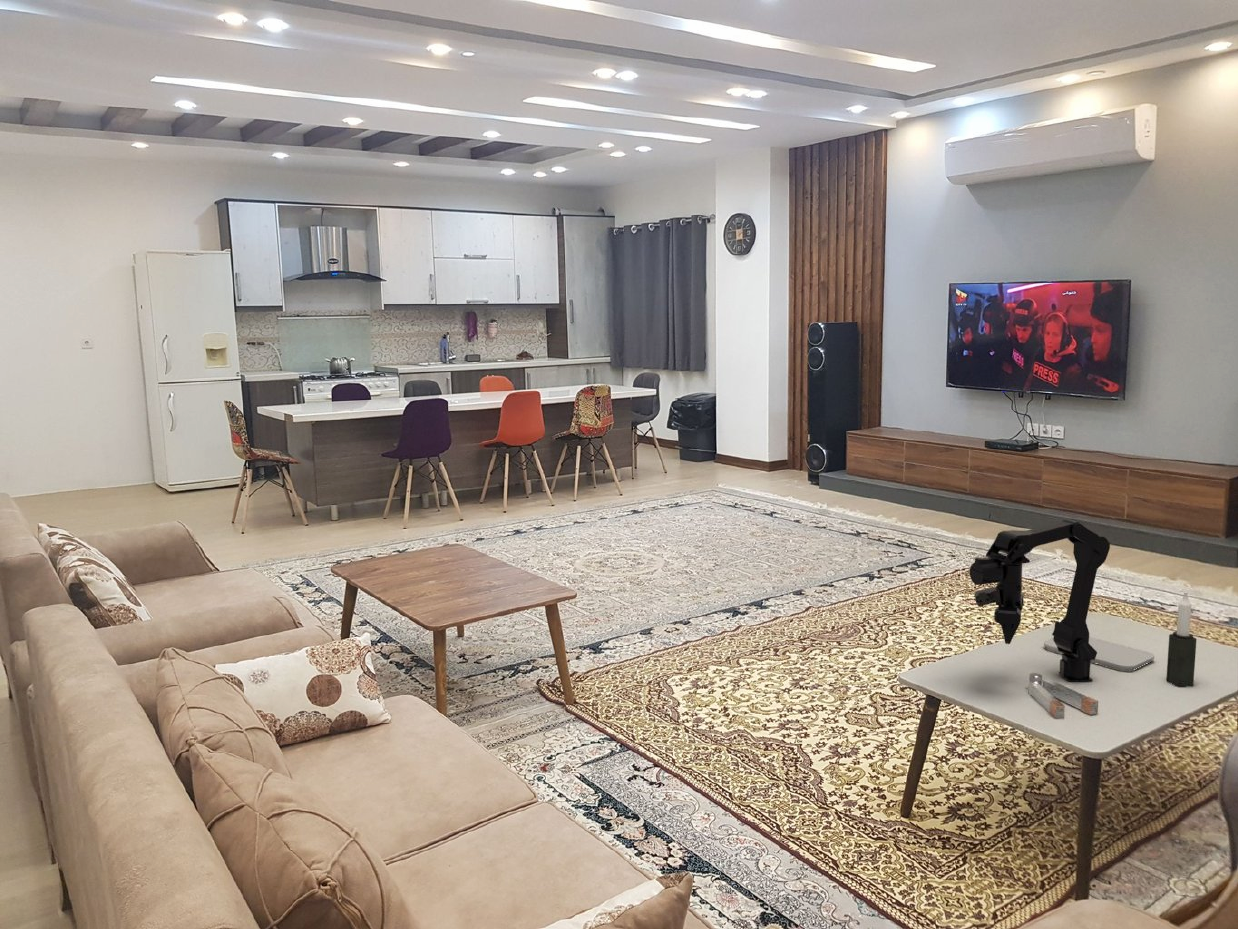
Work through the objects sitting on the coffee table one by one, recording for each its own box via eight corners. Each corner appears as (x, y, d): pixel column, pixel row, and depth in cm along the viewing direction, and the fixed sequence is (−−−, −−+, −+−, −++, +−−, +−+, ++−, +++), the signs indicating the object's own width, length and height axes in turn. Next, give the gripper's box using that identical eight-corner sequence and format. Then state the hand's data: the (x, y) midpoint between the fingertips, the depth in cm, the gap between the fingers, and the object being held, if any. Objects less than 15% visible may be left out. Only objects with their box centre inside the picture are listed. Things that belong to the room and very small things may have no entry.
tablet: (1129, 676, 257) (1129, 667, 256) (1039, 650, 278) (1039, 643, 277) (1158, 662, 266) (1158, 654, 266) (1069, 638, 287) (1069, 631, 287)
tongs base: (1022, 687, 249) (1023, 673, 249) (1038, 687, 249) (1039, 672, 249) (1054, 718, 230) (1055, 702, 229) (1071, 718, 230) (1072, 702, 229)
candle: (1164, 680, 252) (1170, 589, 248) (1182, 679, 252) (1188, 588, 249) (1176, 687, 247) (1183, 594, 243) (1195, 686, 247) (1201, 593, 244)
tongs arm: (1042, 691, 246) (1042, 679, 246) (1048, 690, 247) (1049, 678, 246) (1090, 715, 231) (1091, 702, 231) (1097, 713, 232) (1098, 701, 231)
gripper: (979, 568, 257) (978, 624, 260) (973, 587, 240) (972, 646, 243) (1024, 571, 252) (1022, 628, 255) (1021, 591, 236) (1019, 651, 238)
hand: (1008, 638), depth 248 cm, fingers open, 9 cm apart
